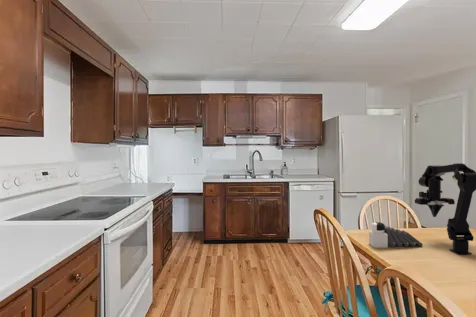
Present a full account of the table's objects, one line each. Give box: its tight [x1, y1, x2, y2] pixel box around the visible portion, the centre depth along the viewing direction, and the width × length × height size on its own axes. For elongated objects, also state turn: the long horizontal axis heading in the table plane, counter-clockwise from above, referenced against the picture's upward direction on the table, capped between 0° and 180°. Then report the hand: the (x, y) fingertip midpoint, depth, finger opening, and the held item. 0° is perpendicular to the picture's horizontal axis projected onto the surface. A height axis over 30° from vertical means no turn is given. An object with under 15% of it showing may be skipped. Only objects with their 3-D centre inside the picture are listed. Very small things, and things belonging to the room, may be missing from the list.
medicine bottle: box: [368, 221, 389, 249], centre depth 163 cm, size 7×7×12 cm
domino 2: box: [388, 226, 403, 248], centre depth 163 cm, size 5×2×10 cm, turn 179°
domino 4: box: [395, 228, 417, 248], centre depth 164 cm, size 5×2×10 cm
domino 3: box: [391, 227, 410, 248], centre depth 163 cm, size 5×2×10 cm
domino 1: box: [384, 225, 395, 248], centre depth 163 cm, size 5×2×10 cm, turn 179°
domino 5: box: [401, 229, 423, 247], centre depth 164 cm, size 5×2×10 cm
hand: (434, 216), depth 171 cm, fingers closed
